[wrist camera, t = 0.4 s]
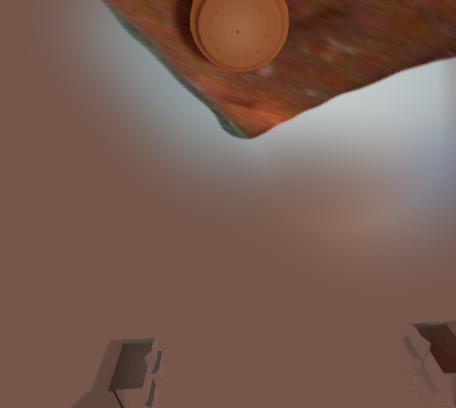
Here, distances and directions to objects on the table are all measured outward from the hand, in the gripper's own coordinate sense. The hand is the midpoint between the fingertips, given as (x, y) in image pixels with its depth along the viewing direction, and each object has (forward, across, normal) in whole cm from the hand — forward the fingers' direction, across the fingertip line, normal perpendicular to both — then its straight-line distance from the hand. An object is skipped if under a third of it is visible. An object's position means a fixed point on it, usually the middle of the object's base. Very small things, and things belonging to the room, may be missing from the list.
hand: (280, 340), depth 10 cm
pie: (+53, -1, -9) cm, 54 cm away
